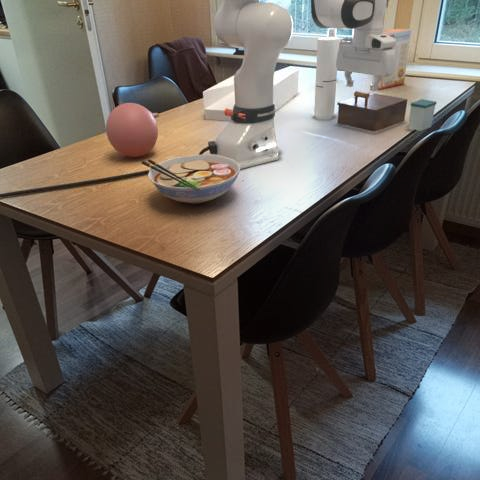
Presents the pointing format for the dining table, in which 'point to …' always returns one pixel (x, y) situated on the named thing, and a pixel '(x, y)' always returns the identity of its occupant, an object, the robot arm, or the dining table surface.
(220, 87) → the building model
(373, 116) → the chest
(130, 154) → the balloon
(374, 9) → the robot arm
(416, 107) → the white teal-lidded container
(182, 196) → the ramen bowl
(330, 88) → the cylindrical container
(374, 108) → the lid
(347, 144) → the dining table surface
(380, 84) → the cracker box
